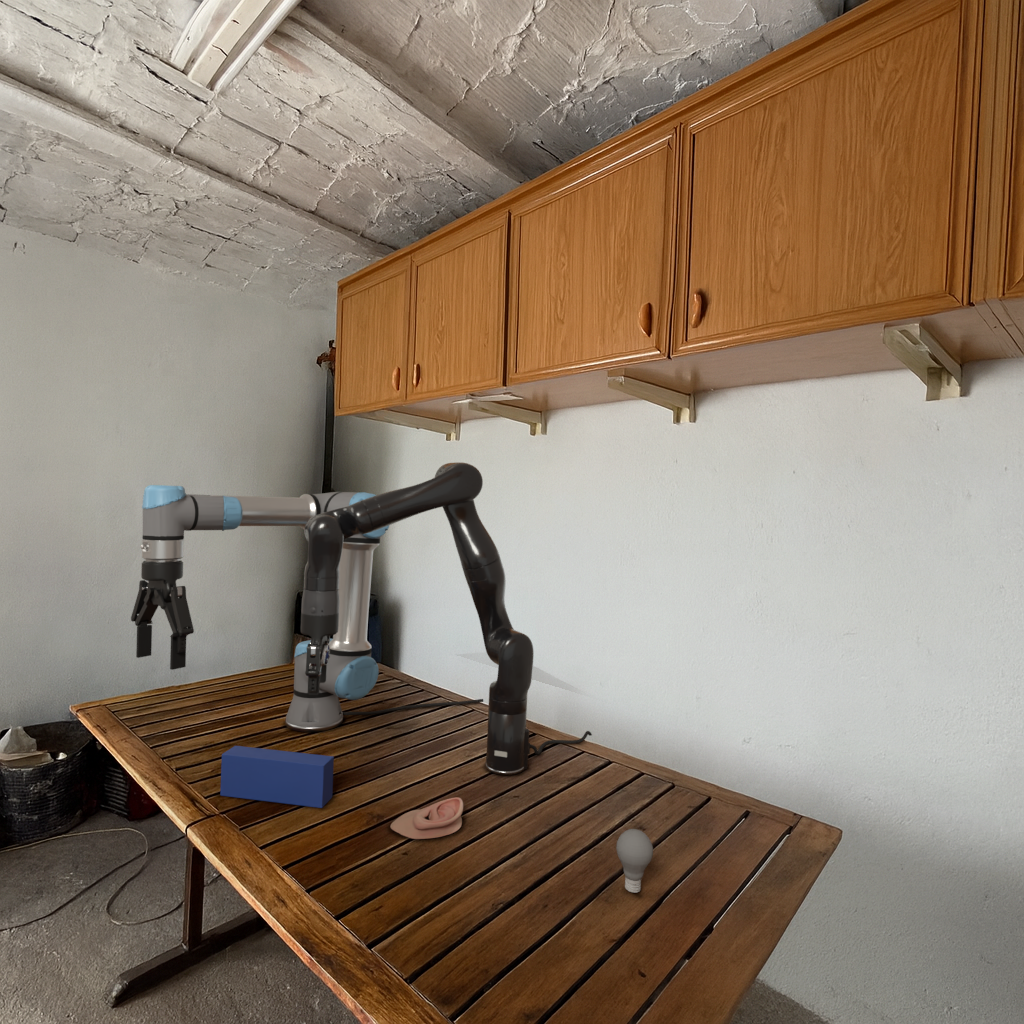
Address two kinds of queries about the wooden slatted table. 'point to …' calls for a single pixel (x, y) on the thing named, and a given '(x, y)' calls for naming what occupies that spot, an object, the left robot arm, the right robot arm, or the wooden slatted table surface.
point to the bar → (277, 776)
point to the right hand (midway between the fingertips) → (317, 688)
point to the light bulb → (634, 857)
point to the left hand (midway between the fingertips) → (160, 662)
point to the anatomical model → (431, 820)
